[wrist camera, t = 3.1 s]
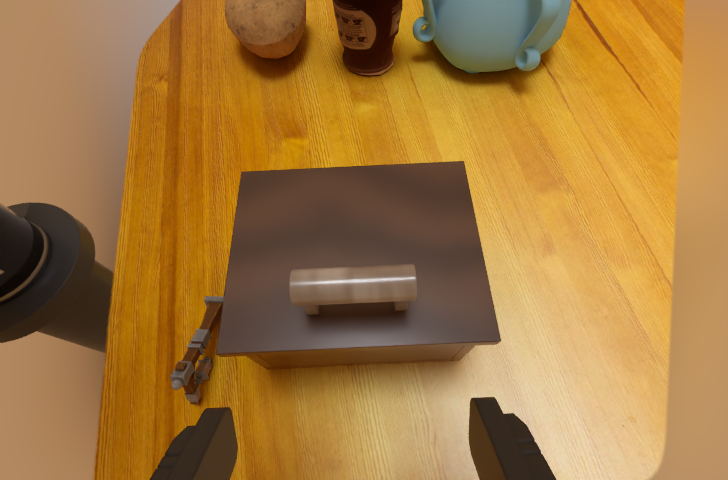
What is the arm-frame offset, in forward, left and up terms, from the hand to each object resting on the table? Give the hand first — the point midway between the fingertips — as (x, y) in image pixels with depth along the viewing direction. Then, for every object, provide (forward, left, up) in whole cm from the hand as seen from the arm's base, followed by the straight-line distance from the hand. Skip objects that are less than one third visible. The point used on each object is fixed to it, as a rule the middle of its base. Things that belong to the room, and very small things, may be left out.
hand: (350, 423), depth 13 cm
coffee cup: (+2, +42, -18) cm, 45 cm away
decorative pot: (+17, +44, -18) cm, 50 cm away
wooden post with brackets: (-12, +7, -18) cm, 23 cm away
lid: (0, +10, -8) cm, 13 cm away
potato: (-10, +46, -18) cm, 50 cm away
